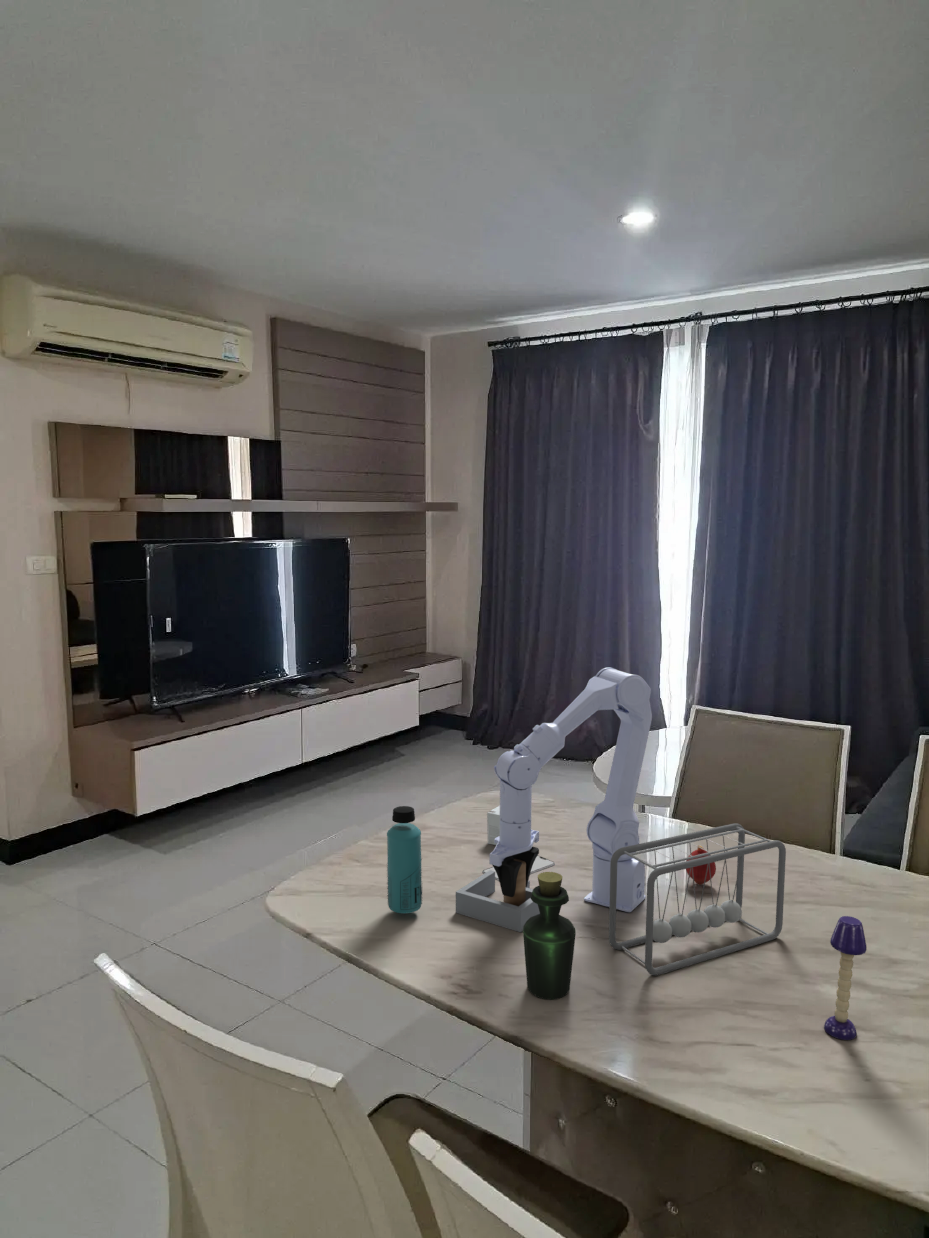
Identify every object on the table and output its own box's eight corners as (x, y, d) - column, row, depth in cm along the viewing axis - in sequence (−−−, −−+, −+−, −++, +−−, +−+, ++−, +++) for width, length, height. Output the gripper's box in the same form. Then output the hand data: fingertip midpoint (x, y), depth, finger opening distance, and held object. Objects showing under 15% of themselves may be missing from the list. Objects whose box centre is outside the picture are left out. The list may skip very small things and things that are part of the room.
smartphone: (480, 870, 176) (532, 852, 186) (480, 874, 177) (532, 855, 186) (504, 882, 171) (557, 862, 180) (504, 885, 171) (557, 866, 180)
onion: (712, 879, 173) (713, 841, 172) (717, 891, 167) (719, 851, 167) (682, 877, 174) (684, 839, 173) (687, 889, 168) (688, 850, 167)
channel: (552, 907, 160) (552, 886, 160) (520, 932, 150) (521, 910, 150) (489, 889, 168) (489, 870, 167) (455, 912, 158) (455, 891, 157)
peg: (529, 909, 157) (529, 862, 156) (518, 917, 153) (518, 869, 152) (510, 904, 159) (510, 857, 158) (499, 912, 155) (499, 864, 154)
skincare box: (523, 840, 194) (523, 809, 193) (510, 849, 189) (510, 816, 188) (499, 835, 197) (500, 804, 196) (486, 843, 192) (486, 811, 191)
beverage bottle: (417, 923, 154) (417, 815, 151) (382, 919, 155) (381, 812, 153) (426, 907, 160) (426, 803, 158) (392, 904, 161) (391, 801, 159)
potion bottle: (541, 969, 138) (542, 861, 136) (584, 986, 133) (587, 875, 131) (511, 990, 132) (512, 878, 130) (555, 1009, 126) (557, 892, 124)
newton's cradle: (647, 980, 135) (650, 871, 133) (607, 950, 144) (609, 849, 142) (783, 937, 149) (787, 839, 147) (738, 913, 158) (742, 820, 156)
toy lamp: (851, 1022, 123) (857, 911, 122) (867, 1041, 119) (874, 927, 117) (818, 1023, 123) (824, 912, 121) (833, 1042, 119) (839, 927, 117)
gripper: (516, 803, 162) (515, 872, 164) (474, 825, 150) (474, 899, 152) (549, 810, 158) (548, 880, 160) (509, 833, 146) (508, 909, 148)
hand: (514, 890), depth 156 cm, fingers closed on peg, 4 cm apart
